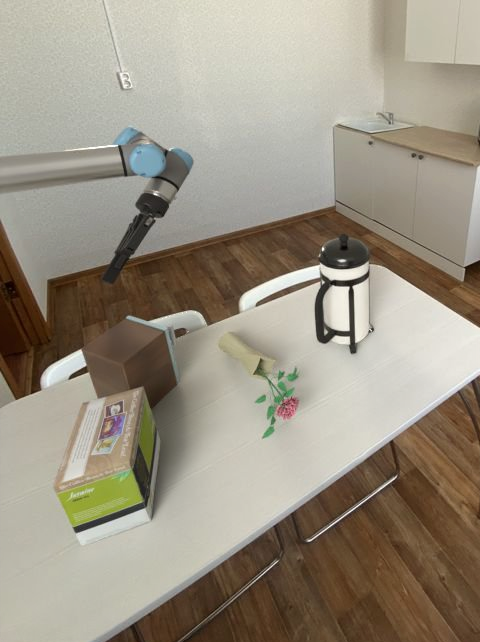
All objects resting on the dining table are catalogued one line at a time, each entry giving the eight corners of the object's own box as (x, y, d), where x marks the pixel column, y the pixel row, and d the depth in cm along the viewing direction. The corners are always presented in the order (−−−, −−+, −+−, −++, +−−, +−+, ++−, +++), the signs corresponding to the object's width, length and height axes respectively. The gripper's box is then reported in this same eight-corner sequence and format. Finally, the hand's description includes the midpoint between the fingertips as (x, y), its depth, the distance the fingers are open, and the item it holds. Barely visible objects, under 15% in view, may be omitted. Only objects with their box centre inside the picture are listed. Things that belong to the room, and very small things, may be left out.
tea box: (102, 459, 71) (81, 400, 66) (162, 441, 74) (146, 383, 69) (79, 550, 58) (50, 485, 53) (152, 523, 61) (131, 459, 56)
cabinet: (139, 370, 92) (124, 318, 87) (177, 384, 88) (164, 331, 82) (99, 403, 83) (80, 348, 78) (139, 420, 79) (122, 363, 74)
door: (149, 360, 94) (136, 310, 89) (186, 374, 90) (174, 322, 85) (139, 368, 92) (125, 317, 87) (177, 382, 88) (164, 330, 82)
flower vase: (247, 369, 101) (327, 433, 75) (200, 381, 93) (271, 458, 67) (250, 324, 101) (331, 373, 75) (204, 333, 93) (275, 390, 67)
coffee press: (312, 322, 107) (305, 225, 97) (368, 314, 110) (367, 219, 100) (318, 368, 92) (310, 257, 81) (383, 357, 94) (383, 249, 84)
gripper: (179, 201, 100) (131, 286, 88) (160, 210, 109) (114, 289, 97) (151, 186, 96) (97, 273, 84) (134, 196, 105) (83, 277, 93)
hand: (106, 281), depth 91 cm, fingers closed
